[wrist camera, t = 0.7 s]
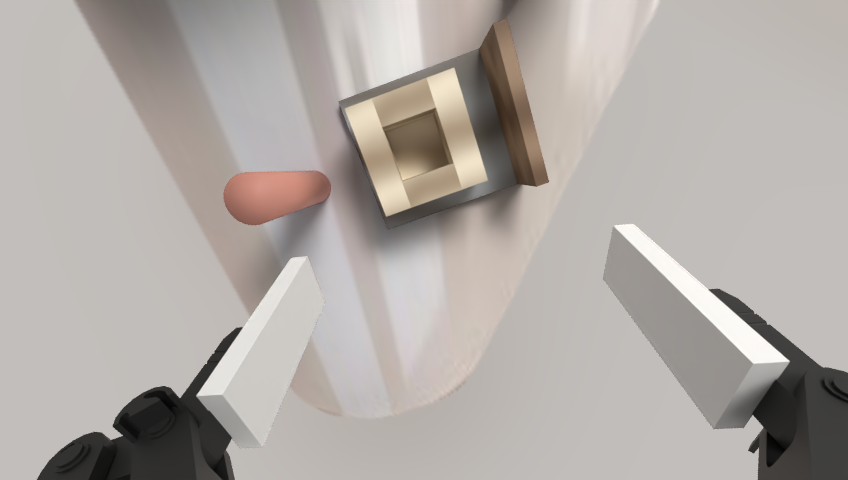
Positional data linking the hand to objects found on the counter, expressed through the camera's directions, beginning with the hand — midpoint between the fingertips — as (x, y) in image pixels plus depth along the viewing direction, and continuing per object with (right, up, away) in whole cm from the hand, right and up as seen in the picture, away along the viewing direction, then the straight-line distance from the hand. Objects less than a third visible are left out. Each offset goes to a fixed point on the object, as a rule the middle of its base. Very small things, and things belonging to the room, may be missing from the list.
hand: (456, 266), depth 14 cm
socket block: (-2, +11, +19) cm, 22 cm away
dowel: (-13, +7, +21) cm, 26 cm away
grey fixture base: (0, +12, +20) cm, 23 cm away
